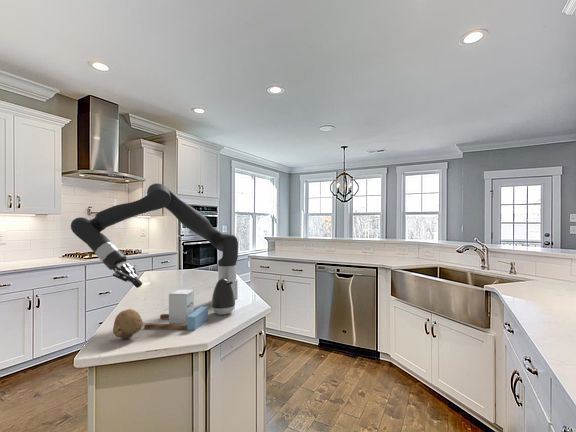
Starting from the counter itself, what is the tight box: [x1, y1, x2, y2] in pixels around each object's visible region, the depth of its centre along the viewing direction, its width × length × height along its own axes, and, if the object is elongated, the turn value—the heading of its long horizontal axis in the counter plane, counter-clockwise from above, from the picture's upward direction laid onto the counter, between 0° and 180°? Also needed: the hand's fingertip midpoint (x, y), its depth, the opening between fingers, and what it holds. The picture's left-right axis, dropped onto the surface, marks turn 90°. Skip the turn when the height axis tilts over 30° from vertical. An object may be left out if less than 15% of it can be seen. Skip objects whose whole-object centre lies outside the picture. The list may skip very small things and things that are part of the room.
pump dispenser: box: [210, 278, 236, 316], centre depth 133 cm, size 10×10×15 cm
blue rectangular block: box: [186, 306, 209, 331], centre depth 120 cm, size 3×13×5 cm, turn 174°
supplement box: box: [168, 289, 195, 324], centre depth 121 cm, size 7×7×13 cm
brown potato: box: [112, 308, 144, 340], centre depth 106 cm, size 9×9×10 cm
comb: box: [143, 313, 188, 331], centre depth 121 cm, size 17×13×2 cm
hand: (139, 286), depth 122 cm, fingers closed
